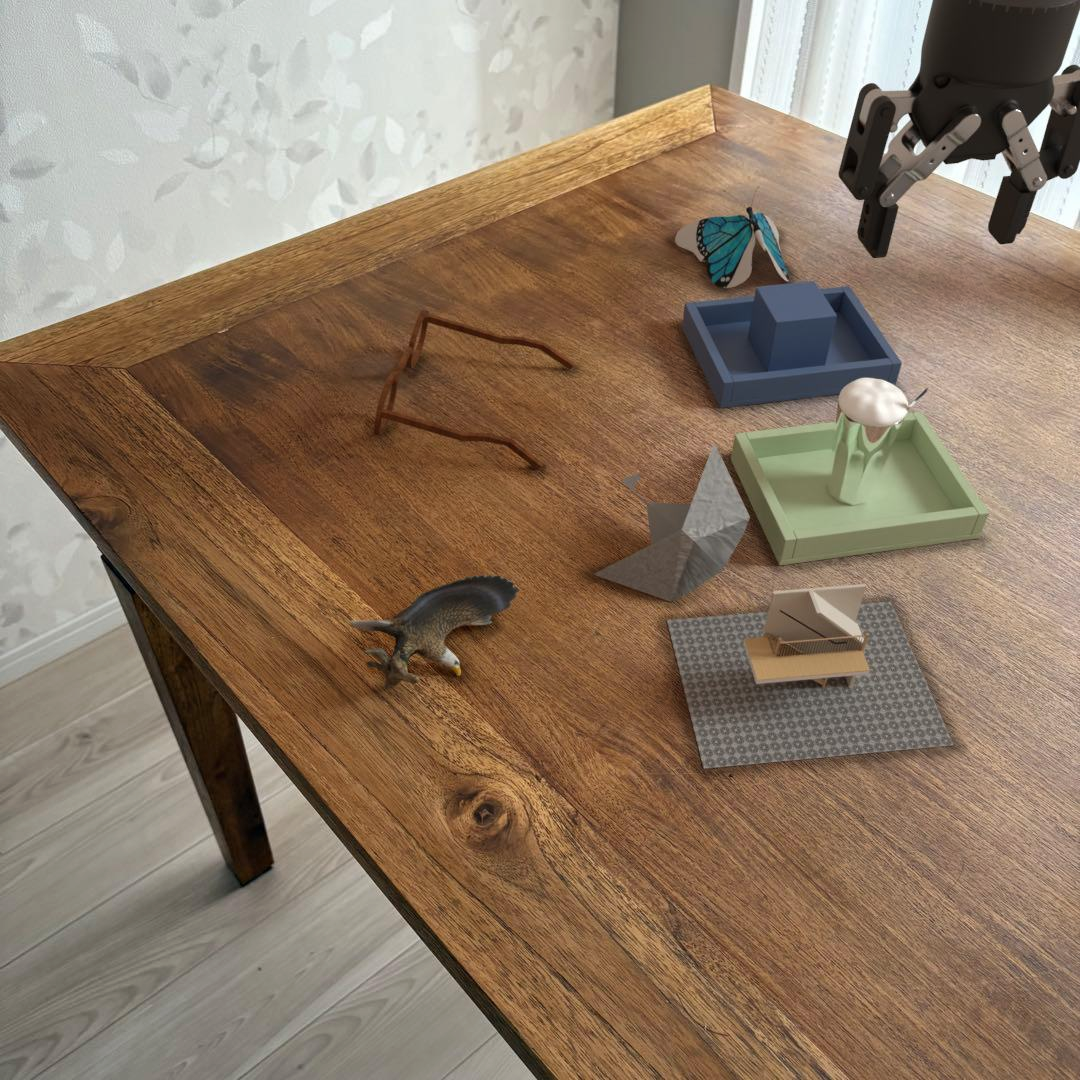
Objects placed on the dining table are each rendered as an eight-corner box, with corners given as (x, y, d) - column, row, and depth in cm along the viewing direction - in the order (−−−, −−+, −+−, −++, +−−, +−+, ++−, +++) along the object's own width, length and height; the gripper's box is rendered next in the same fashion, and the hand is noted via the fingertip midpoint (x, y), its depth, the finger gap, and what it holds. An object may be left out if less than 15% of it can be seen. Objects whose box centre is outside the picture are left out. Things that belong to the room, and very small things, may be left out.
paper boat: (654, 632, 70) (550, 536, 72) (664, 641, 76) (569, 551, 78) (785, 492, 70) (677, 400, 72) (784, 512, 76) (685, 427, 78)
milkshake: (888, 521, 78) (923, 410, 71) (811, 503, 79) (839, 391, 72) (896, 480, 81) (932, 369, 73) (823, 463, 82) (850, 352, 75)
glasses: (420, 348, 93) (416, 296, 89) (574, 367, 91) (576, 316, 87) (372, 449, 84) (365, 397, 80) (542, 473, 82) (542, 421, 78)
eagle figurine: (455, 727, 65) (545, 615, 68) (382, 645, 61) (480, 532, 65) (388, 707, 71) (474, 605, 74) (319, 630, 67) (412, 528, 71)
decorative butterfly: (713, 264, 94) (684, 182, 99) (699, 315, 100) (673, 235, 105) (825, 253, 96) (792, 172, 101) (806, 304, 101) (775, 225, 106)
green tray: (913, 436, 85) (921, 410, 83) (979, 538, 77) (990, 512, 75) (730, 459, 83) (734, 433, 81) (779, 565, 75) (785, 540, 74)
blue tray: (843, 310, 97) (849, 285, 95) (895, 388, 89) (902, 362, 87) (681, 327, 95) (684, 302, 93) (719, 408, 87) (723, 383, 85)
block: (804, 331, 94) (814, 280, 90) (825, 367, 90) (837, 315, 87) (747, 338, 93) (755, 286, 89) (766, 373, 89) (776, 321, 86)
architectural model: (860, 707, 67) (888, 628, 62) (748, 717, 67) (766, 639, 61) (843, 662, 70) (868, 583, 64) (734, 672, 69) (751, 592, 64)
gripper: (916, 12, 55) (853, 290, 67) (1177, -11, 57) (1070, 264, 69) (859, -41, 60) (809, 226, 72) (1099, -60, 62) (1013, 203, 74)
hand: (937, 244), depth 70 cm, fingers open, 8 cm apart
